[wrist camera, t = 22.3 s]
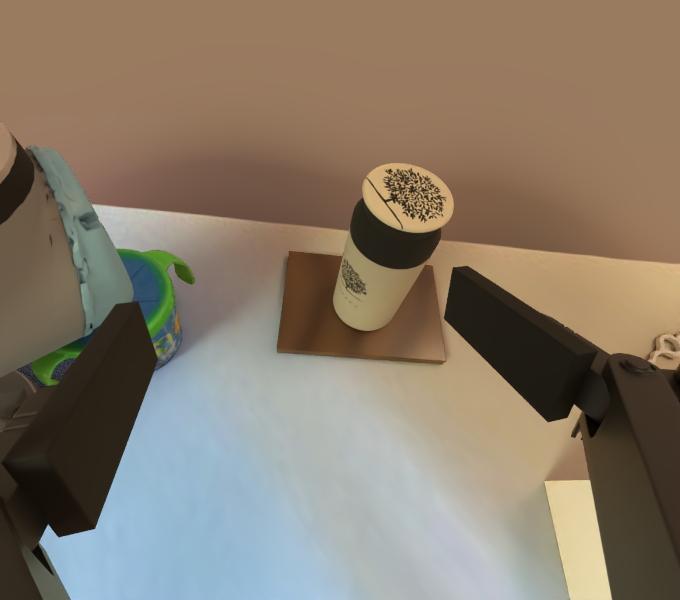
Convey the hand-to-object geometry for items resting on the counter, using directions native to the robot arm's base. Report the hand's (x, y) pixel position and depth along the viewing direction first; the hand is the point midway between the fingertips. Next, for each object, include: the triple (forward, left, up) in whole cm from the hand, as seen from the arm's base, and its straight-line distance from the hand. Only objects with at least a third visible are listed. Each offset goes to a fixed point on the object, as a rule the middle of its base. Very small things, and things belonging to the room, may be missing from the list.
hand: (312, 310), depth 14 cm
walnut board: (+2, +15, -24) cm, 29 cm away
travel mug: (+2, +15, -23) cm, 28 cm away
